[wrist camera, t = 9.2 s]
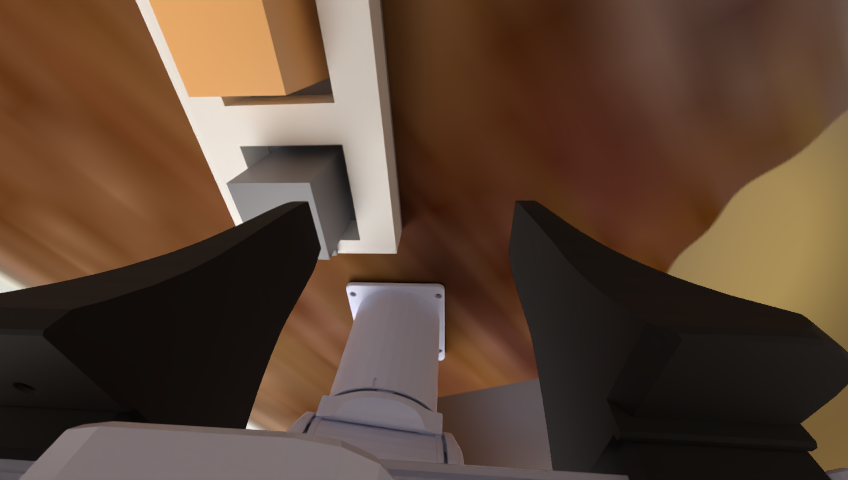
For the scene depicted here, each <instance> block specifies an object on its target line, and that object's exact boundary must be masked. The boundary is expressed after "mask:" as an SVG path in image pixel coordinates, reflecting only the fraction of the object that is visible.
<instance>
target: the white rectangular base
mask: <svg viewBox="0 0 848 480" xmlns="http://www.w3.org/2000/svg"><path fill="white" fill-rule="evenodd" d="M136 2H137V4H138V7H139V9H140V11H141V13H142V16H143V18H144V20H145V22H146V25H147V27H148V29H149V31H150V34H151V36H152V38H153V40H154V43H155V45H156V47H157V49H158V52H159V54H160V56H161V58H162V61H163V63H164V65H165V67H166V70H167V72H168V74H169V76H170V79H171V81H172V83H173V85H174V88H175V90H176V92H177V94H178V97H179V99H180V101H181V103H182V106H183V108H184V110H185V112H186V115H187V117H188V119H189V121H190V124H191V126H192V128H193V130H194V133H195V135H196V137H197V139H198V142H199V144H200V146H201V148H202V151H203V153H204V155H205V157H206V160H207V162H208V164H209V166H210V169H211V171H212V173H213V175H214V178H215V180H216V182H217V184H218V187H219V189H220V191H221V194H222V196H223V198H224V200H225V203H226V205H227V207H228V209H229V212H230V214H231V216H232V218H233V221H234V223H235V225H236V226H237V225H239V224H242V223H244V222H246V221H248V220H250V219H252V218H254V217H256V216H258V215H260V214H262V213H264V212H267V211H269V210H271V209H273V208H275V207H278V206H280V205H282V204H285V203H288V202H291V201H308V202H309V205H310V209H311V213H312V216H313V220H314V224H315V227H316V231H317V234H318V238H319V242H320V245H321V251H320V254H319V257H318V259H325V260H330V258H331V256H332V255H334V256H336V255H337V253H380V254H397V250H398V246H399V241H400V237H401V233H402V229H403V228H402V217H401V206H400V195H399V184H398V173H397V163H396V152H395V141H394V130H393V119H392V108H391V97H390V87H389V76H388V65H387V54H386V43H385V32H384V21H383V11H382V0H316V6H317V11H318V16H319V22H320V27H321V32H322V38H323V43H324V49H325V54H326V59H327V65H328V70H329V75H330V78H328V79H325V80H323V81H321V82H318V83H316V84H313V85H311V86H308V87H306V88H303V89H301V90H298V91H296V92H293V93H291V94H288V95H280V96H222V97H189V96H188V93H187V91H186V88H185V86H184V84H183V81H182V79H181V76H180V74H179V72H178V69H177V67H176V64H175V62H174V60H173V57H172V55H171V52H170V50H169V48H168V45H167V43H166V40H165V38H164V36H163V33H162V31H161V28H160V26H159V24H158V21H157V19H156V16H155V14H154V11H153V9H152V7H151V4H150V2H149V0H136Z"/></svg>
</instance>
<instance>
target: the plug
mask: <svg viewBox="0 0 848 480" xmlns="http://www.w3.org/2000/svg"><path fill="white" fill-rule="evenodd" d="M149 2H150V4H151V7H152V9H153V11H154V14H155V16H156V19H157V21H158V24H159V26H160V28H161V31H162V33H163V36H164V38H165V40H166V43H167V45H168V48H169V50H170V52H171V55H172V57H173V60H174V62H175V64H176V67H177V69H178V72H179V74H180V76H181V79H182V81H183V84H184V86H185V88H186V91H187V93H188V96H189V97H222V96H280V95H288V94H291V93H293V92H296V91H298V90H301V89H303V88H306V87H308V86H311V85H313V84H316V83H318V82H321V81H323V80H325V79H328V78H330V75H329V70H328V65H327V59H326V54H325V49H324V43H323V38H322V32H321V27H320V22H319V16H318V11H317V6H316V0H149Z"/></svg>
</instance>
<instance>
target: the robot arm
mask: <svg viewBox="0 0 848 480" xmlns="http://www.w3.org/2000/svg"><path fill="white" fill-rule="evenodd" d="M320 251H321V245H320V242H319V238H318V234H317V231H316V227H315V224H314V220H313V216H312V213H311V209H310V205H309V202H308V201H291V202H288V203H285V204H282V205H280V206H278V207H275V208H273V209H271V210H269V211H267V212H264V213H262V214H260V215H258V216H256V217H254V218H252V219H250V220H248V221H246V222H244V223H242V224H239V225H237V226H235V227H233V228H231V229H228V230H226V231H224V232H222V233H219V234H217V235H215V236H213V237H210V238H208V239H206V240H203V241H201V242H198V243H196V244H193V245H190V246H188V247H185V248H182V249H179V250H177V251H174V252H171V253H168V254H165V255H162V256H159V257H155V258H152V259H149V260H145V261H142V262H139V263H135V264H132V265H129V266H125V267H122V268H118V269H114V270H110V271H106V272H102V273H98V274H94V275H90V276H85V277H81V278H77V279H72V280H68V281H63V282H58V283H53V284H48V285H42V286H37V287H32V288H26V289H21V290H16V291H11V292H5V293H0V480H848V468H839V469H833V470H828V471H826V472H824V470H823V469H822V468H821V467H820V466H819V465H818V463H817V462H816V461H815V460H814V459H813V457H812V456H811V455H810V454H809V453H808V452H807V451H813V450H815V449H816V448H817V443H816V441H815V440H814V439H813V438H812V436H811V435H810V434H809V433H808V432H807V431H806V430H805V429H804V427H803V426H802V425H801V424H800V423H802V422H803V421H804V420H806V419H807V418H808V417H809V416H811V415H812V414H813V413H815V412H816V411H817V410H819V409H820V408H821V407H822V406H824V405H825V404H826V403H828V402H829V401H830V400H831V399H833V398H834V397H835V396H836V395H837V394H838V393H839V392H840V391H841V390H842V389H843V388H845V387H846V386H847V384H848V352H847V351H846V350H845V349H844V348H843V347H841V346H840V345H839V344H838V343H837V342H836V341H834V340H833V339H832V338H830V337H829V336H828V335H827V334H826V333H825V332H823V331H822V330H821V329H820V328H819V327H817V326H816V325H815V324H814V323H812V322H811V321H810V320H809V319H808V318H806V317H804V316H803V315H801V314H798V313H795V312H791V311H787V310H783V309H780V308H776V307H772V306H768V305H765V304H761V303H757V302H753V301H749V300H746V299H742V298H738V297H735V296H731V295H728V294H725V293H721V292H718V291H715V290H712V289H709V288H706V287H703V286H700V285H697V284H693V283H691V282H688V281H685V280H682V279H679V278H676V277H674V276H671V275H669V274H666V273H664V272H661V271H659V270H656V269H654V268H651V267H649V266H646V265H644V264H642V263H639V262H637V261H635V260H632V259H630V258H628V257H626V256H624V255H622V254H620V253H618V252H616V251H614V250H612V249H610V248H608V247H606V246H604V245H603V244H601V243H599V242H597V241H596V240H594V239H592V238H591V237H589V236H587V235H586V234H584V233H582V232H581V231H579V230H578V229H576V228H574V227H573V226H571V225H570V224H568V223H567V222H566V221H564V220H563V219H561V218H560V217H558V216H557V215H555V214H554V213H553V212H551V211H550V210H548V209H547V208H545V207H544V206H543V205H541V204H539V203H538V202H536V201H516V202H515V209H514V216H513V223H512V231H511V238H510V245H509V256H510V263H511V269H512V275H513V278H514V281H515V285H516V288H517V291H518V295H519V298H520V301H521V304H522V307H523V311H524V314H525V317H526V320H527V324H528V327H529V330H530V334H531V338H532V343H533V348H534V353H535V359H536V364H537V369H538V375H539V380H540V387H541V392H542V398H543V405H544V411H545V418H546V424H547V430H548V438H549V445H550V453H551V459H552V468H553V470H537V469H522V468H521V469H520V468H507V467H506V468H505V467H492V466H477V465H464V461H463V456H462V452H461V449H460V447H459V446H458V444H457V443H456V441H455V439H454V437H453V435H452V434H451V433H445V432H442V414H441V413H437V386H438V360H443V359H444V358H445V288H444V286H443V285H441V284H417V283H364V282H350V283H348V285H347V287H346V290H347V295H348V299H349V303H350V307H351V311H352V315H353V319H354V323H353V326H352V329H351V332H350V335H349V338H348V341H347V344H346V347H345V350H344V353H343V356H342V359H341V362H340V365H339V368H338V371H337V374H336V377H335V380H334V383H333V386H332V389H331V392H330V395H329V396H326V395H324V396H322V398H321V401H320V404H319V407H318V410H317V413H315V412H306V413H304V414H303V415H302V416H301V417H300V418H299V419H298V420H296V421H295V422H294V423H293V424H292V425H291V426H290V427H289V429H288V430H287V432H283V431H267V430H250V429H246V426H247V423H248V419H249V416H250V413H251V410H252V407H253V404H254V401H255V398H256V395H257V392H258V389H259V386H260V383H261V381H262V378H263V375H264V373H265V370H266V367H267V365H268V362H269V359H270V357H271V354H272V352H273V349H274V347H275V345H276V342H277V340H278V337H279V335H280V332H281V330H282V328H283V326H284V324H285V322H286V320H287V318H288V317H289V315H290V313H291V311H292V309H293V308H294V306H295V304H296V302H297V300H298V299H299V297H300V295H301V293H302V291H303V290H304V288H305V286H306V284H307V282H308V280H309V278H310V277H311V275H312V273H313V271H314V268H315V266H316V263H317V260H318V257H319V254H320ZM353 292H355V293H353ZM437 294H441V295H437Z"/></svg>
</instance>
